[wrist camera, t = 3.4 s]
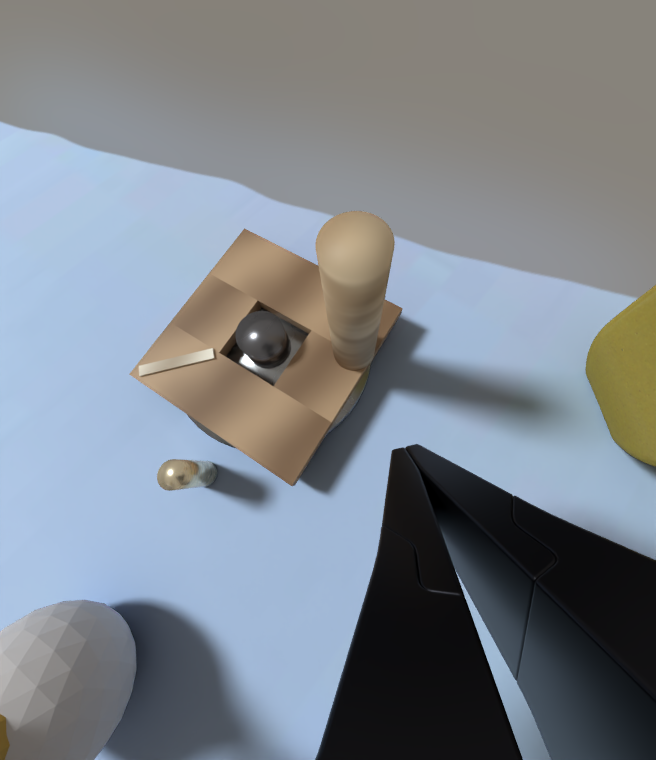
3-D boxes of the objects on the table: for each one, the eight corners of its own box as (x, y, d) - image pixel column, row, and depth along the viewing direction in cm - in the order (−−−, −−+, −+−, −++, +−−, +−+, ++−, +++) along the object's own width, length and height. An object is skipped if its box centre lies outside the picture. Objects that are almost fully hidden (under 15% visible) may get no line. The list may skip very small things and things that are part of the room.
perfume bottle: (89, 558, 20) (-266, 679, 9) (218, 643, 18) (-12, 943, 7) (12, 686, 18) (-553, 1049, 7) (145, 793, 17) (-317, 1519, 5)
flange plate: (401, 316, 22) (448, 170, 11) (296, 486, 19) (226, 507, 9) (248, 238, 24) (168, 60, 14) (139, 378, 22) (-62, 293, 11)
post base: (407, 320, 23) (418, 290, 19) (272, 540, 19) (253, 558, 16) (251, 240, 26) (234, 200, 22) (112, 420, 22) (62, 410, 18)
